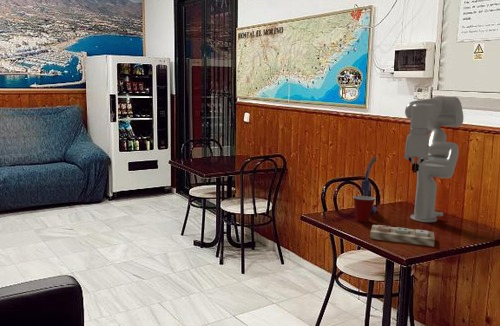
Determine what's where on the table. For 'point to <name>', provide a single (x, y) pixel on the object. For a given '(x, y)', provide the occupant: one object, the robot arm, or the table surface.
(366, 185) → the hand press
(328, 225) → the table surface
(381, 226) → the tile three
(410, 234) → the board
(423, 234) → the tile one
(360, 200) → the plastic cup
